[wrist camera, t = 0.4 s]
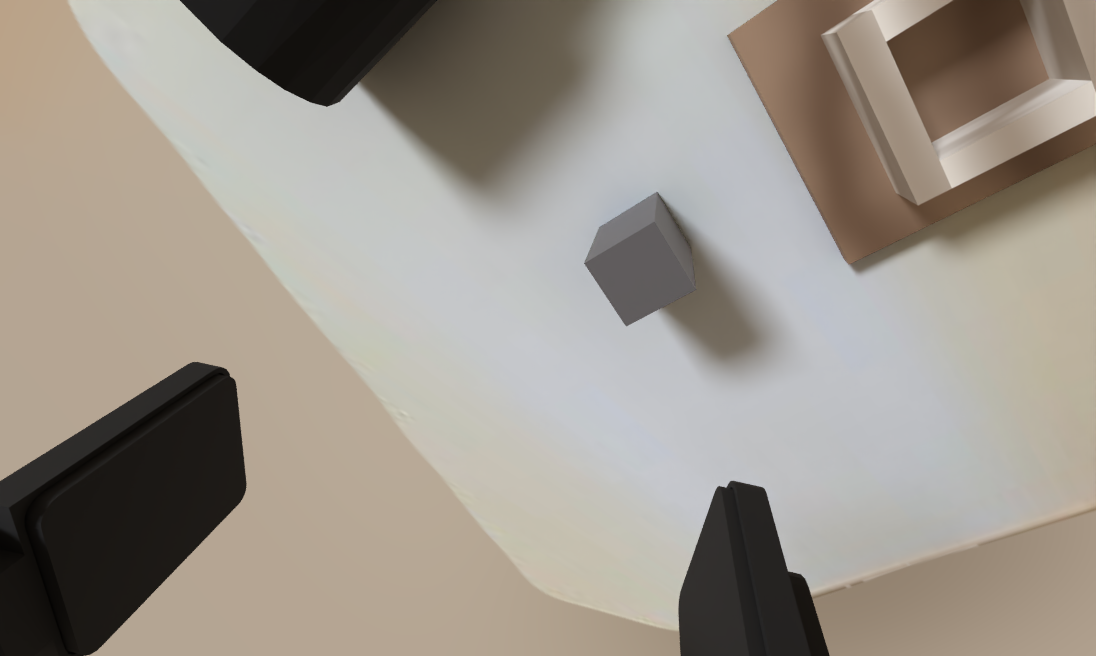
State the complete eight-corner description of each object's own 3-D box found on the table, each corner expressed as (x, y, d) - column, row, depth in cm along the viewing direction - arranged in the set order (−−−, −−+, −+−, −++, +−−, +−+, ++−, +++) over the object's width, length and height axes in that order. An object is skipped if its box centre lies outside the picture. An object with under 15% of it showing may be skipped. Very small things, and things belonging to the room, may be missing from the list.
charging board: (1215, -305, 22) (1322, -378, 18) (1299, 33, 25) (1403, 29, 22) (727, 35, 29) (735, 31, 26) (844, 259, 33) (865, 282, 29)
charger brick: (657, 191, 33) (654, 221, 27) (691, 248, 34) (696, 289, 28) (599, 227, 35) (584, 263, 29) (633, 280, 36) (626, 326, 30)
